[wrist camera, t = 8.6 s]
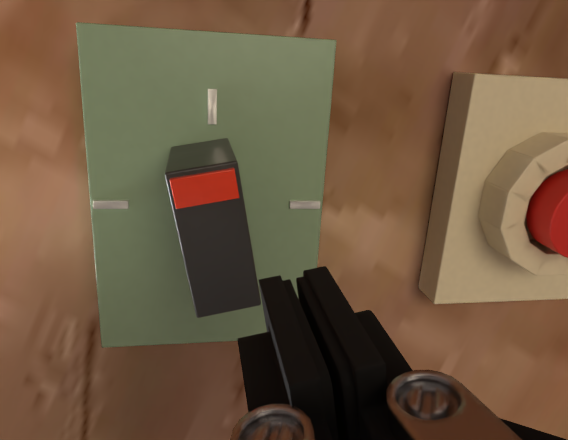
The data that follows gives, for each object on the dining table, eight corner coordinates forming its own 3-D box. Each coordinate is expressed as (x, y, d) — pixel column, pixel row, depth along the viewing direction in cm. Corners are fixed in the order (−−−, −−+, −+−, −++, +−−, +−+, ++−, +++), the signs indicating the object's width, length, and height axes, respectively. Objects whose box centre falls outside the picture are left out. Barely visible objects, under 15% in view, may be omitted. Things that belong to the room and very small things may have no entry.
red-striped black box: (248, 256, 22) (262, 309, 17) (196, 266, 21) (196, 322, 17) (228, 137, 20) (238, 162, 15) (170, 146, 20) (163, 174, 15)
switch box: (567, 282, 29) (621, 315, 26) (417, 287, 28) (452, 324, 24) (623, 81, 26) (696, 86, 22) (453, 71, 24) (501, 75, 20)
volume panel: (298, 307, 27) (312, 339, 24) (111, 314, 25) (100, 350, 22) (318, 41, 22) (337, 39, 19) (91, 26, 20) (74, 21, 17)
